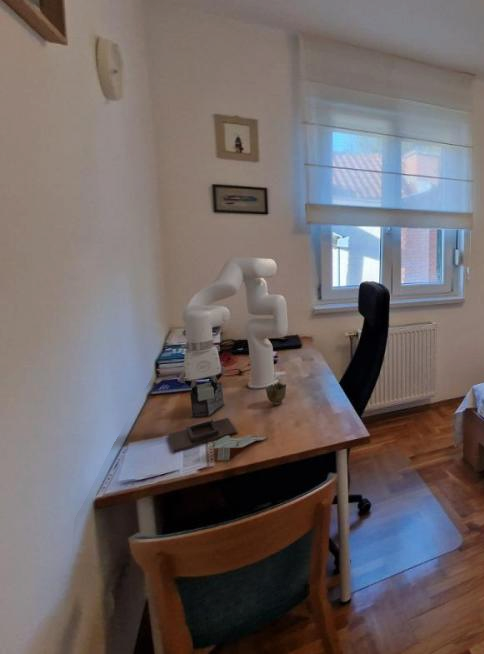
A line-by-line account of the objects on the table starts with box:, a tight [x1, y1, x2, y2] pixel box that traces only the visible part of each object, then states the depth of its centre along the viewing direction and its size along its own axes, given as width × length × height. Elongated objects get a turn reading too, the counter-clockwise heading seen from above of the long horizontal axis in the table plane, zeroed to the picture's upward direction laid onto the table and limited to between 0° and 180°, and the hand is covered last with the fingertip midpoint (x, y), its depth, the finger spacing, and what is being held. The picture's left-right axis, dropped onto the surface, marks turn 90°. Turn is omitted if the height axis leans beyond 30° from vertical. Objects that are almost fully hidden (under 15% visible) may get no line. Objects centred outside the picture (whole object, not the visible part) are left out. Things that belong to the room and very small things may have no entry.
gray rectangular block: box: [196, 382, 214, 401], centre depth 147 cm, size 4×7×4 cm, turn 44°
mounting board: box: [168, 417, 238, 454], centre depth 147 cm, size 18×14×2 cm
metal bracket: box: [205, 434, 267, 462], centre depth 139 cm, size 14×6×15 cm
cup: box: [265, 382, 287, 407], centre depth 172 cm, size 8×7×8 cm
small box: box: [189, 381, 225, 418], centre depth 165 cm, size 11×6×10 cm, turn 5°
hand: (204, 394), depth 147 cm, fingers closed on gray rectangular block, 4 cm apart
